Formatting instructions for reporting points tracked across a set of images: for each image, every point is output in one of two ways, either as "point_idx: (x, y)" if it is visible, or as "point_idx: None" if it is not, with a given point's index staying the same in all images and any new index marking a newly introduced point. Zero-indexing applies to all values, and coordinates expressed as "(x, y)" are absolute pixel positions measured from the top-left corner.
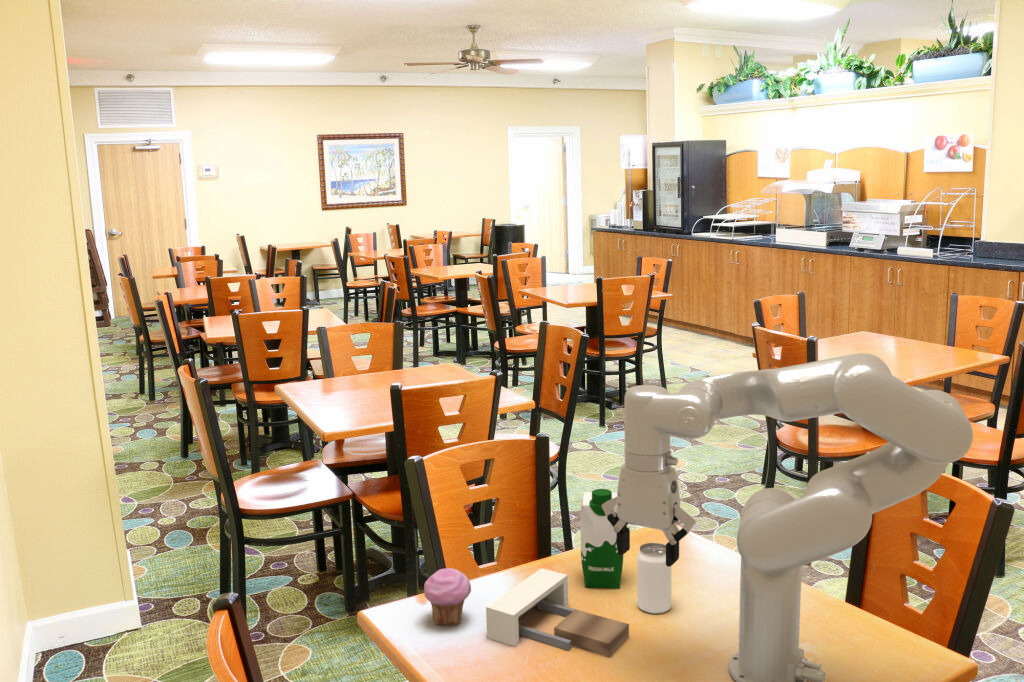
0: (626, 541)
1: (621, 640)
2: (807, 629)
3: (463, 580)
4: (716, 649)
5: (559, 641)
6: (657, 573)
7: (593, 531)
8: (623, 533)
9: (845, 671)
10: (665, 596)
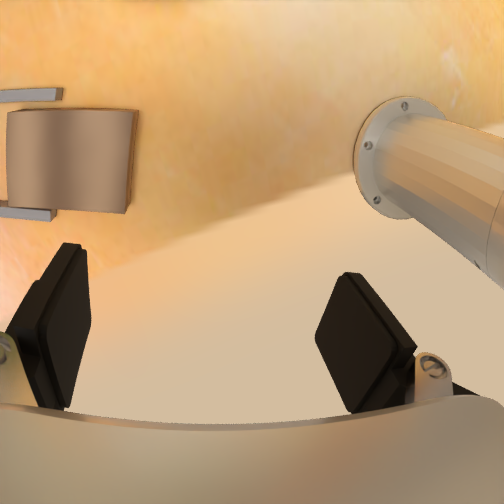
0: (73, 323)
1: (132, 148)
2: (449, 9)
3: None
4: (326, 95)
5: (34, 219)
6: None
7: None
8: (62, 398)
9: (483, 123)
10: None
